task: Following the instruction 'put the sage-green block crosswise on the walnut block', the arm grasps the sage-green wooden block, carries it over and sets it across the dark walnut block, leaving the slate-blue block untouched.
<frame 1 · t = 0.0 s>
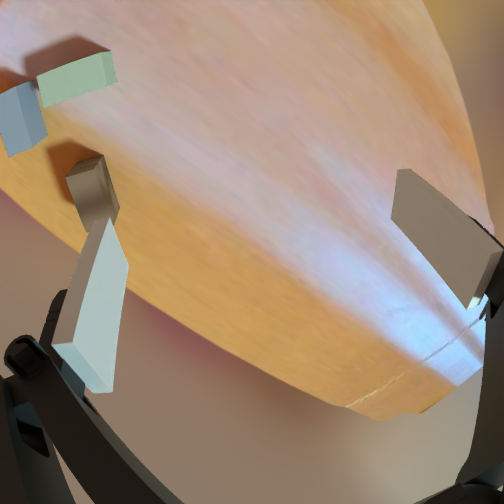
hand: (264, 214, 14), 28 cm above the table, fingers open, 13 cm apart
sage block: (84, 75, 30), on the table
slate block: (28, 112, 31), on the table
walnut block: (98, 185, 39), on the table
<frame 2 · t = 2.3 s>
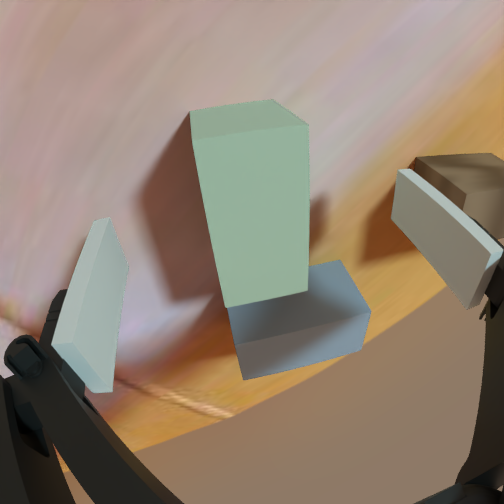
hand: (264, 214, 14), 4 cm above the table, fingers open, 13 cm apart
sage block: (240, 177, 17), on the table
slate block: (283, 292, 22), on the table
walnut block: (452, 179, 19), on the table
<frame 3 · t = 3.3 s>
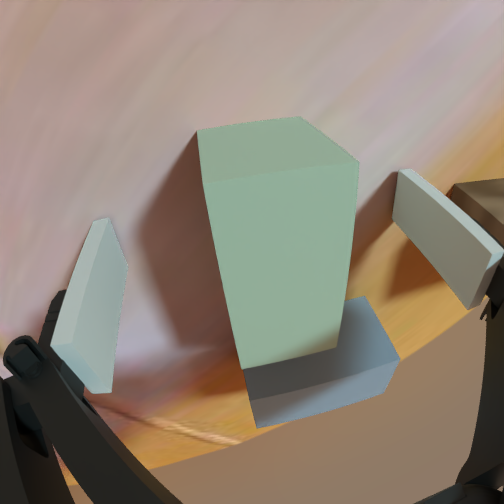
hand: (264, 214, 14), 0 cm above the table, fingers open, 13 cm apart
sage block: (258, 210, 14), on the table
slate block: (301, 330, 20), on the table
walnut block: (486, 205, 17), on the table
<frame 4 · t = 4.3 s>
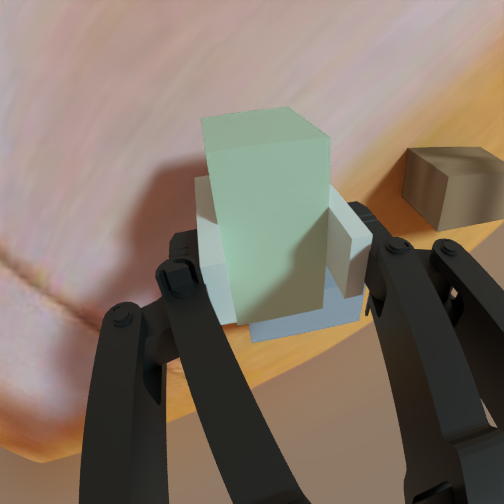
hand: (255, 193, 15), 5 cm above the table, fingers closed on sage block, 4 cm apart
sage block: (253, 188, 16), point 4 cm above the table, touching gripper
slate block: (290, 267, 25), on the table
walnut block: (443, 169, 22), on the table
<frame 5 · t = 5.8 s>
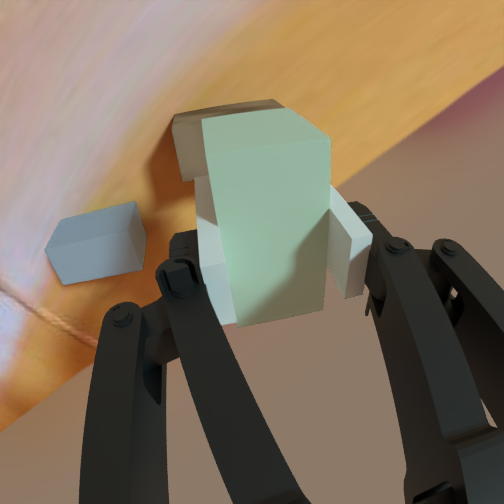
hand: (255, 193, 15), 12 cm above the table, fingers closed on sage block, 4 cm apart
sage block: (253, 190, 16), point 12 cm above the table, touching gripper
slate block: (103, 227, 28), on the table
walnut block: (227, 127, 25), on the table
when the fingers open (5 cm above the table, at t = 7.5 s): sage block stays where it is, resting on walnut block.
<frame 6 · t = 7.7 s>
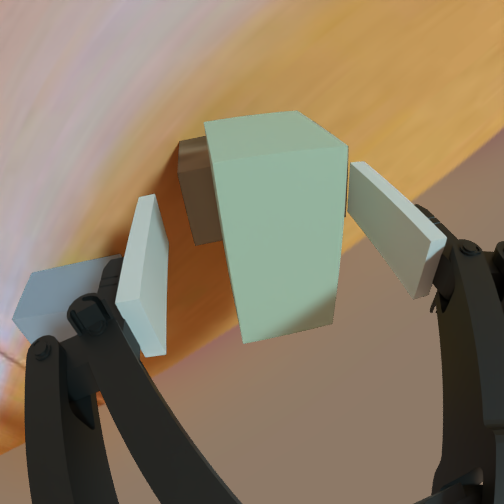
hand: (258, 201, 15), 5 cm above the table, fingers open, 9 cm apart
sage block: (258, 197, 15), point 5 cm above the table, touching walnut block
slate block: (83, 282, 22), on the table
walnut block: (251, 159, 19), on the table, touching sage block
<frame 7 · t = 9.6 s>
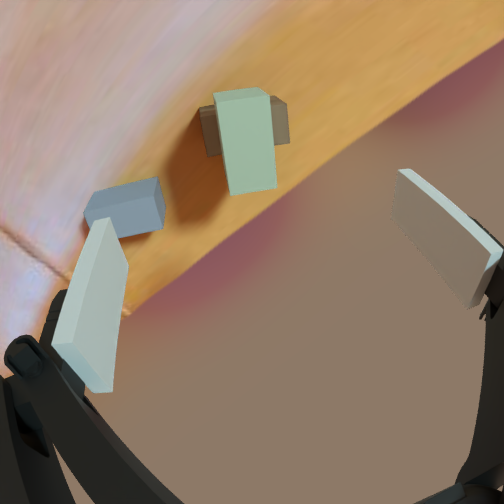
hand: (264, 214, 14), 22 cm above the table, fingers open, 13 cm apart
sage block: (240, 130, 28), point 5 cm above the table, touching walnut block
slate block: (129, 198, 36), on the table
walnut block: (239, 118, 32), on the table, touching sage block
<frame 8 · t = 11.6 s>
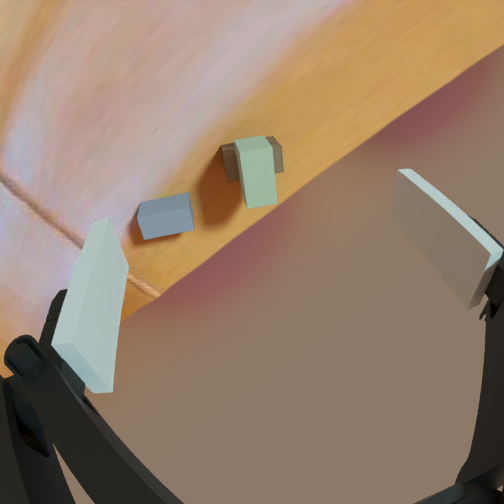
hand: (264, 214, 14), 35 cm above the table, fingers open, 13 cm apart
sage block: (252, 164, 44), point 5 cm above the table, touching walnut block
slate block: (167, 207, 51), on the table
walnut block: (248, 152, 48), on the table, touching sage block
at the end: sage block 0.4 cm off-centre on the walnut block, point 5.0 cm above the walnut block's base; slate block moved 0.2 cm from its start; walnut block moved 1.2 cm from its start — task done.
